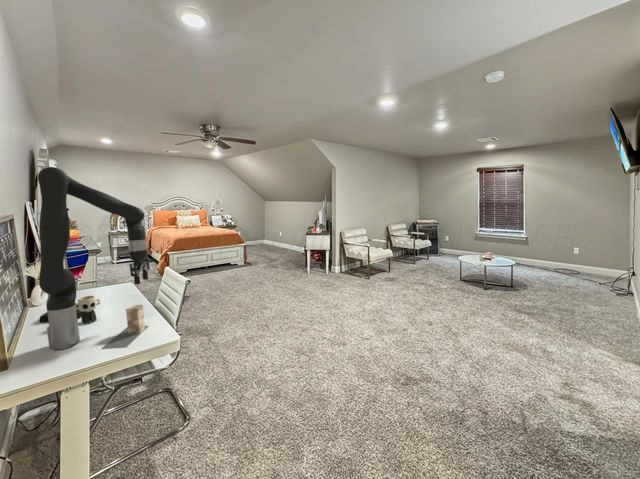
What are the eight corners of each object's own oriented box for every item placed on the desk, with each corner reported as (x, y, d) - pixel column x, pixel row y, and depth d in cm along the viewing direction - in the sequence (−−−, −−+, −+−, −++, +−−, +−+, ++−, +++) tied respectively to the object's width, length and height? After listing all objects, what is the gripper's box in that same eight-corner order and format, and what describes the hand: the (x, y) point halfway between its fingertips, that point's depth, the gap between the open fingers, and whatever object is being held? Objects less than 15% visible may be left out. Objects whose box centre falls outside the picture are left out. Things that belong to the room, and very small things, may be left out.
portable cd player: (56, 312, 168) (55, 305, 167) (92, 309, 173) (91, 302, 172) (39, 324, 152) (38, 316, 152) (79, 319, 157) (78, 312, 157)
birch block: (128, 334, 137) (125, 309, 135) (133, 329, 141) (131, 305, 140) (140, 333, 137) (137, 308, 136) (144, 328, 142) (142, 304, 141)
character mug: (77, 327, 147) (74, 301, 145) (74, 323, 151) (71, 299, 149) (104, 320, 155) (101, 296, 153) (99, 317, 160) (97, 293, 158)
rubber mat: (100, 351, 123) (100, 349, 123) (127, 328, 144) (127, 327, 144) (126, 349, 124) (126, 347, 124) (149, 327, 146) (149, 325, 146)
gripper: (137, 247, 150) (140, 278, 152) (121, 251, 135) (125, 286, 138) (152, 246, 150) (156, 277, 153) (139, 251, 136) (143, 285, 139)
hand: (141, 281), depth 145 cm, fingers open, 8 cm apart
